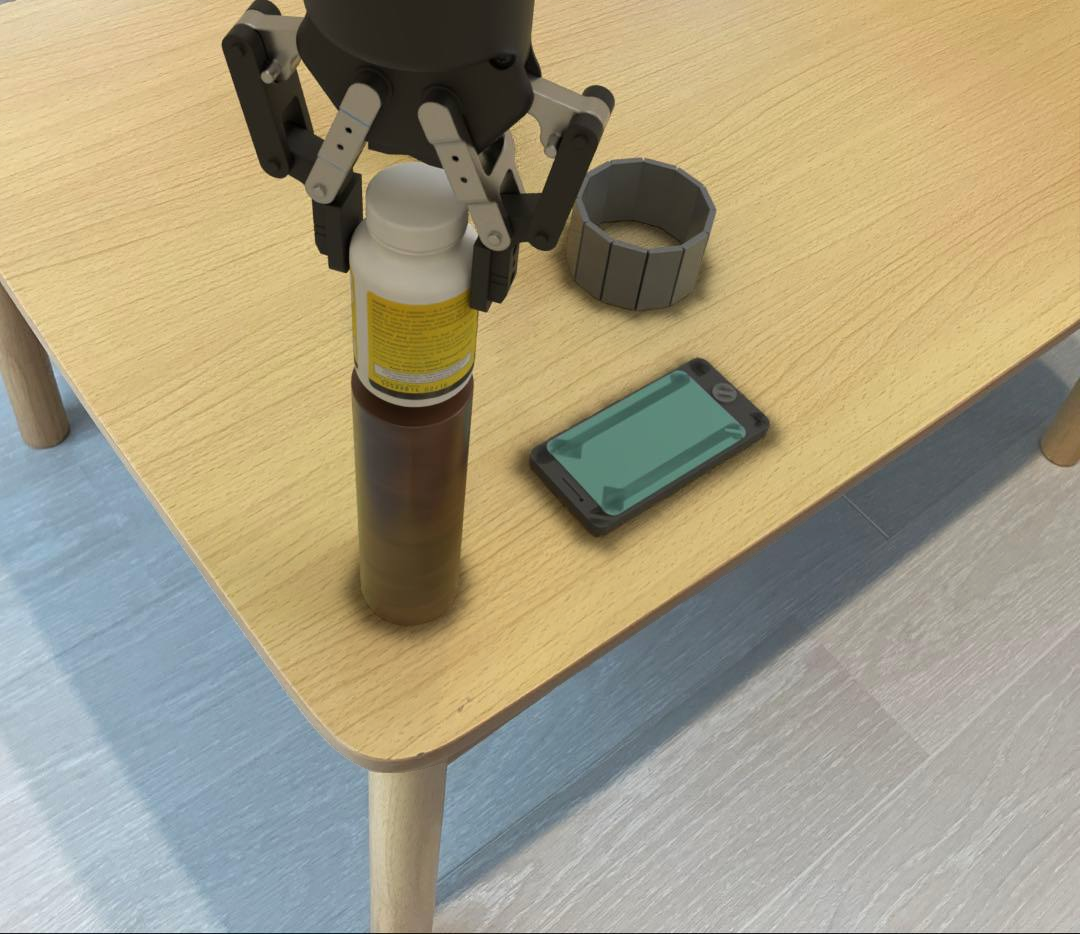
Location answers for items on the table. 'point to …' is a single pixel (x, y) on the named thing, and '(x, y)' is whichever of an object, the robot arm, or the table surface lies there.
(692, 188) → the grey ring
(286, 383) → the table surface
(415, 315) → the supplement bottle
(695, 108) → the table surface
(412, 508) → the brown metal stand
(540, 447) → the smartphone
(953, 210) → the table surface
